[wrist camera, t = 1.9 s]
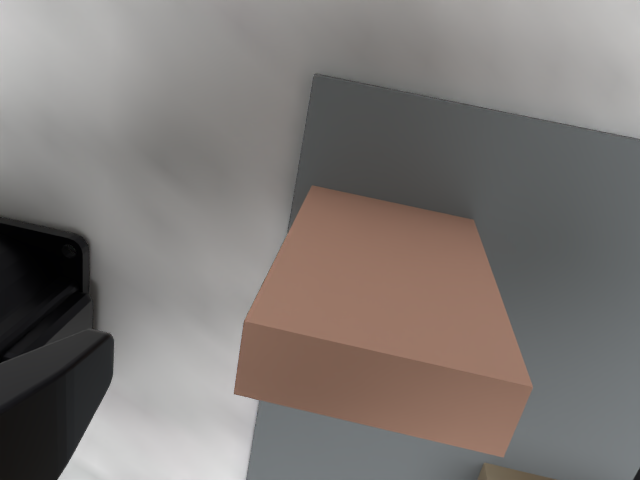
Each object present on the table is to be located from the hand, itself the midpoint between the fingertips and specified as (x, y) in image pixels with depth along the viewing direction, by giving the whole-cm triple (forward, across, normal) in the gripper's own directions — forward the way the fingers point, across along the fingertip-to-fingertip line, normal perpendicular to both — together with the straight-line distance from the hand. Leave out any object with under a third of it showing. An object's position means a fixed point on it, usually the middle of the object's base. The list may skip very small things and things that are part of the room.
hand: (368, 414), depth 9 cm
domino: (+9, 0, 0) cm, 9 cm away
